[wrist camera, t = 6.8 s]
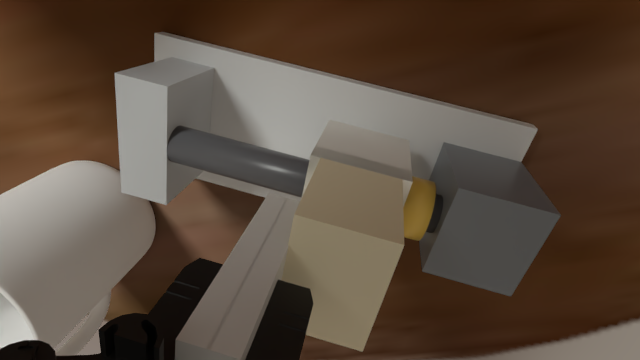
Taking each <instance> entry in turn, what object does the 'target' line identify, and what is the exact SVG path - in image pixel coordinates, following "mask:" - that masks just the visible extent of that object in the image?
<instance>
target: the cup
mask: <svg viewBox="0 0 640 360" xmlns="http://www.w3.org/2000/svg"><path fill="white" fill-rule="evenodd" d="M155 230H156V224H155V216H154V212H153V209H152V207H151V204H150V202H149V201H148V200H147V199H143V198H140V197H136V196H133V195H129V194H126V193H122V192H121V177H120V171H119V170H117V169H115V168H113V167H111V166H108V165H106V164H103V163H99V162H94V161H85V160H82V161H72V162H68V163H65V164H62V165H59V166H57V167H55V168H53V169H51V170H48V171H46V172H44V173H42V174H40V175H38V176H36V177H34V178H32V179H31V180H29V181H27V182H25V183H23V184H21V185H19V186H17V187H15V188H13V189H11V190H9V191H7V192H5V193H3V194H1V195H0V349H1V348H3V347H5V346H7V345H9V344H12V343H16V342H20V341H23V340H40V341H43V342H45V343H48V344H50V346H51V347H52V348H53V349H54V348H55V347H56V346H57V345H58V344H59V343H60V342H61V341H62V340H63V339H64V338H65V336H67V335H68V333H70V331H72V330H73V328H74V327H75V326H76V325H77V324H78V323H79V322H80V321H81V320H82V319H83V318H84V317H85V316H86V315H87V314H88V313H89V314H88V316H87V318H86V320H85V321H84V323H83V324H82V326H81V327H80V328H79V329H78V331H77V332H76V333H75V334H74V335H73V336H72V337H71V338H70V339H69V340H68V341H67V342H66V343H65V344H64V345H63V346H62V347H60V348H59V349H58V350H57V351H55V354H56V356H72V355H77V354H78V353H79V352H80V351H81V349H83V347H84V346H85V345H86V344H87V343H88V342H89V341H90V339H91V338H92V337H93V336H94V334H95V333H96V331H97V330H98V328H99V327H100V325H101V323H102V322H103V320H104V318H105V316H106V313H107V311H108V308H109V304H110V299H111V289H112V288H113V287H114V286H115V285H116V284H117V283H118V282H119V281H120V280H121V279H122V278H123V277H124V276H125V275H126V274H127V273H128V272H129V271H130V270H131V269H132V268H133V266H134V265H135V264H136V263H137V262H138V261H139V260H140V259H141V258H142V257H143V256H144V255H145V253H146V252H147V251H148V249H149V248H150V246H151V245H152V243H153V240H154V236H155Z"/></svg>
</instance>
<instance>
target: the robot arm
mask: <svg viewBox="0 0 640 360" xmlns="http://www.w3.org/2000/svg"><path fill="white" fill-rule="evenodd" d="M299 203H300V201H296V200H293V199H289V198H286V197H282V196H278V195H275V194H271V193H268V195H267V196H266V198H265V200H264V201H263V203H262V204H261V206H260V208H259V209H258V211H257V212H256V214H255V215H254V217H253V219H252V220H251V222H250V223H249V225H248V226H247V228H246V230H245V231H244V233H243V234H242V236H241V237H240V239H239V241H238V242H237V244H236V245H235V247H234V248H233V250H232V252H231V253H230V255H229V256H228V258H227V259H226V261H225V263H224V264H219V263H216V262H212V261H209V260H205V259H202V258H199V259H197V260H195V261H194V262H192V263H191V264H189V265H187V266H186V267H184V269H183V270H182V271H181V272H180V274H179V275H178V276H177V278H176V279H175V281H174V283H172V284H171V285H170V287H169V288H168V289H167V291H166V293H164V294H163V296H162V297H161V298H160V300H159V301H158V302H157V304H156V305H155V306H154V307H153V309H152V310H151V311H150V313H149V314H148V315H147V314H139V313H133V314H127V315H122V316H119V317H117V318H115V319H113V320H110V321H109V322H107V323H106V324H105V325H104V326H103V327H101V328H100V329H99V338H100V347H101V353H100V354H94V355H72V356H56V354H55V351H54V349H53V348H52V347H51V346H50V344H48V343H45V342H43V341H40V340H23V341H20V342H16V343H12V344H9V345H7V346H5V347H3V348H1V349H0V360H299V358H300V354H301V350H302V346H303V342H304V338H305V335H306V331H307V327H308V323H309V319H310V315H311V311H312V308H313V304H314V303H313V299H312V295H311V290H310V289H309V288H306V287H302V286H299V285H295V284H292V283H288V282H285V281H282V275H283V270H284V265H285V260H286V256H287V251H288V246H289V245H288V242H289V237H290V233H291V228H292V223H293V218H294V214H295V212H296V210H297V207H298V205H299Z"/></svg>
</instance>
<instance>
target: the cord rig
mask: <svg viewBox="0 0 640 360" xmlns="http://www.w3.org/2000/svg"><path fill="white" fill-rule="evenodd" d="M115 90H116V108H117V125H118V142H119V159H120V177H121V192H122V193H126V194H129V195H133V196H136V197H140V198H143V199H147V200H150V201H154V202H157V203H161V204H164V205H167V204H168V203H169V202H170V201H171V200H172V199H173V198H175V197H176V196H177V195H178V194H179V193H180V192H181V191H182V190H183V189H184V188H186V187H187V186H188V185H189V184H190V183H191V182H192V181H193V180H194V179H195V178H196V179H200V180H203V181H207V182H210V183H214V184H218V185H221V186H225V187H228V188H232V189H236V190H239V191H243V192H247V193H250V194H254V195H257V196H261V197H265V198H266V196H267V195H268V193H271V194H275V195H278V196H282V197H286V198H289V199H293V200H296V201H301V198H302V193H303V189H304V184H305V179H306V174H307V170H308V165H309V160H310V155H311V153H312V151H313V150H314V148H315V146H316V144H317V142H318V140H319V138H320V136H321V135H322V133H323V131H324V129H325V127H326V125H327V123H328V122H329V120H333V121H337V122H341V123H345V124H348V125H352V126H356V127H360V128H364V129H368V130H372V131H375V132H379V133H383V134H387V135H391V136H395V137H399V138H402V139H406V140H409V145H410V157H411V168H412V179H413V183H412V186H411V188H410V191H409V194H408V196H407V199H406V202H405V204H404V207H403V215H404V237H405V238H409V239H413V240H416V241H419V245H420V256H421V267H422V272H426V273H429V274H433V275H436V276H440V277H443V278H447V279H450V280H454V281H457V282H461V283H465V284H468V285H472V286H475V287H479V288H482V289H486V290H489V291H493V292H496V293H500V294H503V295H507V296H512V294H513V292H514V291H515V289H516V288H517V286H518V284H519V283H520V281H521V279H522V278H523V276H524V275H525V273H526V271H527V270H528V268H529V266H530V265H531V263H532V262H533V260H534V258H535V257H536V255H537V253H538V252H539V250H540V249H541V247H542V245H543V244H544V242H545V240H546V239H547V237H548V236H549V234H550V232H551V231H552V229H553V227H554V226H555V224H556V223H557V221H558V219H559V218H560V216H561V214H560V213H559V212H558V210H557V209H556V208H555V206H554V205H553V204H552V202H551V201H550V200H549V198H548V197H547V196H546V194H545V193H544V192H543V190H542V189H541V188H540V186H539V185H538V184H537V182H536V181H535V180H534V178H533V177H532V176H531V174H530V173H529V172H528V170H527V169H526V168H525V166H524V165H523V164H522V160H523V158H524V156H525V154H526V152H527V150H528V148H529V146H530V144H531V142H532V140H533V138H534V136H535V134H536V132H537V130H538V129H537V128H536V127H535V126H534V125H533V124H530V123H526V122H522V121H518V120H514V119H510V118H506V117H502V116H498V115H494V114H490V113H486V112H482V111H478V110H474V109H470V108H466V107H462V106H458V105H454V104H450V103H446V102H442V101H438V100H434V99H430V98H426V97H422V96H418V95H414V94H410V93H406V92H402V91H398V90H394V89H390V88H386V87H382V86H378V85H374V84H370V83H366V82H362V81H358V80H354V79H350V78H346V77H342V76H338V75H334V74H330V73H326V72H322V71H318V70H314V69H310V68H306V67H302V66H298V65H294V64H290V63H286V62H282V61H278V60H274V59H270V58H266V57H262V56H258V55H254V54H250V53H246V52H242V51H238V50H234V49H230V48H226V47H222V46H218V45H214V44H210V43H206V42H202V41H198V40H194V39H190V38H186V37H182V36H178V35H174V34H170V33H166V32H157V33H154V62H152V63H148V64H145V65H141V66H137V67H134V68H130V69H127V70H123V71H119V72H116V73H115Z"/></svg>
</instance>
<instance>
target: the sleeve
mask: <svg viewBox="0 0 640 360" xmlns="http://www.w3.org/2000/svg"><path fill="white" fill-rule="evenodd" d="M412 183H413V179H412V168H411V157H410V145H409V140H406V139H402V138H399V137H395V136H391V135H387V134H383V133H379V132H375V131H372V130H368V129H364V128H360V127H356V126H352V125H348V124H345V123H341V122H337V121H333V120H329V122H328V123H327V125H326V127H325V129H324V131H323V133H322V135H321V136H320V138H319V140H318V142H317V144H316V146H315V148H314V150H313V151H312V153H311V155H310V160H309V165H308V170H307V174H306V179H305V184H304V189H303V193H302V198H301V201H300V203H299V205H298V207H297V210H296V212H295V214H294V218H293V223H292V228H291V233H290V237H289V242H288V245H289V246H288V251H287V256H286V260H285V265H284V270H283V275H282V281H285V282H288V283H292V284H295V285H299V286H302V287H306V288H309V289H310V290H311V295H312V299H313V303H314V304H313V308H312V311H311V315H310V319H309V323H308V327H307V331H306V335H308V336H311V337H315V338H318V339H321V340H325V341H328V342H331V343H335V344H338V345H341V346H345V347H348V348H351V349H354V350H358V351H361V352H363V349H364V347H365V344H366V342H367V339H368V337H369V334H370V332H371V329H372V327H373V324H374V321H375V319H376V316H377V314H378V311H379V309H380V306H381V304H382V301H383V299H384V296H385V294H386V291H387V288H388V286H389V283H390V281H391V278H392V276H393V273H394V271H395V268H396V266H397V263H398V260H399V258H400V255H401V253H402V250H403V248H404V215H403V207H404V204H405V202H406V199H407V196H408V194H409V191H410V188H411V186H412Z"/></svg>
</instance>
